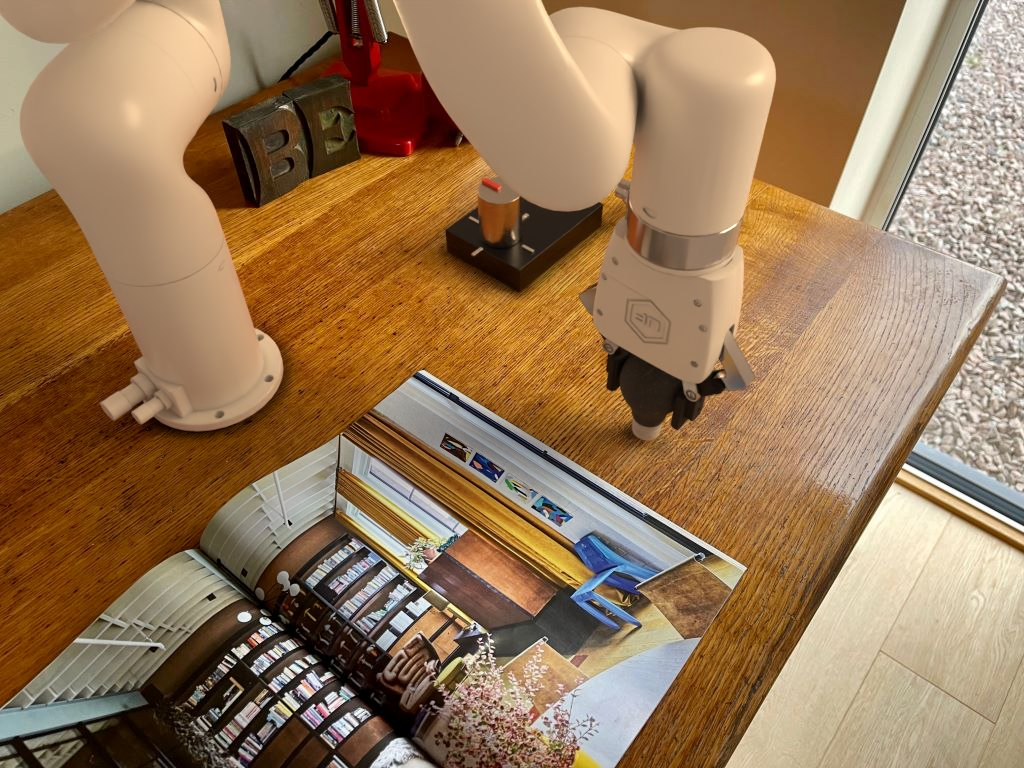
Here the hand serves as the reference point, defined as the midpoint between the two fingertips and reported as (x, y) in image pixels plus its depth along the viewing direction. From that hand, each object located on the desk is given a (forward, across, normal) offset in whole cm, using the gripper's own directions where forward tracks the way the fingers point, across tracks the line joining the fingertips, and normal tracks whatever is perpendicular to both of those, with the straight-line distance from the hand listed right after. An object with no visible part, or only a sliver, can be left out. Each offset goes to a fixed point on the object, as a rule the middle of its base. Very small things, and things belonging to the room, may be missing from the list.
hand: (651, 398), depth 71 cm
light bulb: (+5, 0, 0) cm, 5 cm away
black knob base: (+5, -25, +14) cm, 29 cm away
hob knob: (+2, -25, +10) cm, 27 cm away
